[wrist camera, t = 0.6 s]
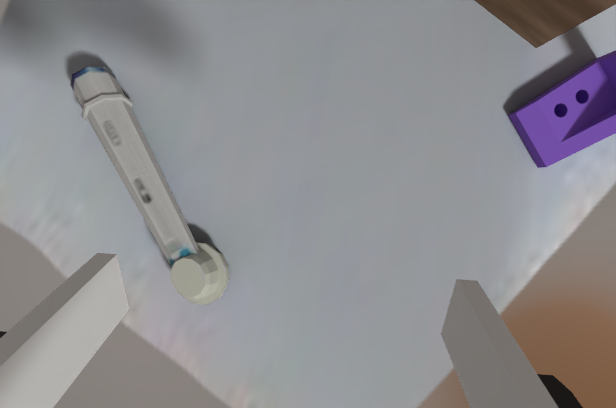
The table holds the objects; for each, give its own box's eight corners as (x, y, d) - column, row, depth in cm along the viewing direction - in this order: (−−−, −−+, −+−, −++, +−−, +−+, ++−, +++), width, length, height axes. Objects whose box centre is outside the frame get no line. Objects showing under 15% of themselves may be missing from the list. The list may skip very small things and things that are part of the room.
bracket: (594, 59, 38) (661, 31, 31) (622, 111, 38) (694, 95, 32) (506, 116, 38) (554, 100, 31) (535, 167, 38) (589, 163, 31)
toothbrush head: (102, 55, 31) (226, 297, 29) (139, 85, 38) (241, 284, 36) (51, 82, 31) (173, 326, 29) (97, 107, 38) (198, 307, 36)
